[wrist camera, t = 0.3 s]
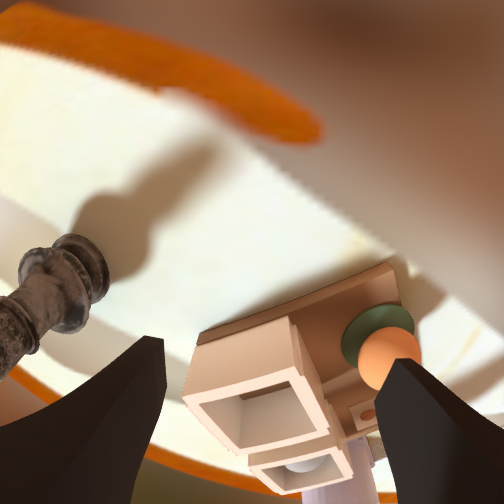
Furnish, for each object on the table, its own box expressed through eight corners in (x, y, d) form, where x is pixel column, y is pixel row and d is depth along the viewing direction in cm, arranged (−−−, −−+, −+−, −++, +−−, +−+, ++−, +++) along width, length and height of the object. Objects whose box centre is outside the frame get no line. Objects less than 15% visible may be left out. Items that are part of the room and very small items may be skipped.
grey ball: (328, 435, 22) (335, 472, 18) (286, 447, 23) (288, 483, 19) (317, 413, 21) (323, 453, 17) (269, 426, 21) (270, 465, 18)
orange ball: (409, 348, 18) (431, 386, 14) (357, 370, 19) (372, 413, 15) (402, 304, 17) (430, 342, 13) (344, 329, 17) (361, 373, 14)
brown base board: (416, 402, 22) (421, 413, 21) (282, 448, 24) (283, 461, 23) (394, 257, 17) (404, 267, 16) (199, 333, 19) (195, 347, 18)
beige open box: (322, 384, 19) (333, 433, 15) (237, 408, 21) (233, 456, 16) (290, 313, 17) (299, 364, 13) (192, 347, 18) (177, 397, 14)
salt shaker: (40, 231, 17) (-85, 311, 6) (105, 228, 17) (-36, 334, 6) (58, 304, 19) (-35, 405, 8) (120, 310, 19) (32, 444, 8)
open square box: (346, 437, 22) (355, 477, 18) (277, 456, 23) (278, 495, 19) (329, 398, 20) (339, 445, 16) (247, 421, 21) (245, 467, 17)
